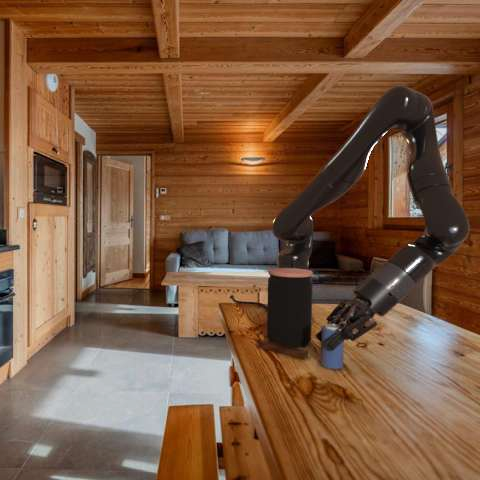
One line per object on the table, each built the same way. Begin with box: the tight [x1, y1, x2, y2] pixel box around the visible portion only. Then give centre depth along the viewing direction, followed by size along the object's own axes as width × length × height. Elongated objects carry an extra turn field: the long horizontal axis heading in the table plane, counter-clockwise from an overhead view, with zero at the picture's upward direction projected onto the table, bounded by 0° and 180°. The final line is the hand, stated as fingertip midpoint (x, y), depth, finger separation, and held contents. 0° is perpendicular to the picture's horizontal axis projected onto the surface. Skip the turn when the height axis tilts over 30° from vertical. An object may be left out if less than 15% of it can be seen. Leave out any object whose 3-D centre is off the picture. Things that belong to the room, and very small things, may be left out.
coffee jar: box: [266, 267, 314, 348], centre depth 97 cm, size 11×11×18 cm
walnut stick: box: [258, 339, 309, 360], centre depth 90 cm, size 11×2×2 cm, turn 46°
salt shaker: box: [320, 323, 345, 370], centre depth 82 cm, size 4×4×8 cm
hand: (323, 343), depth 82 cm, fingers closed on salt shaker, 4 cm apart
